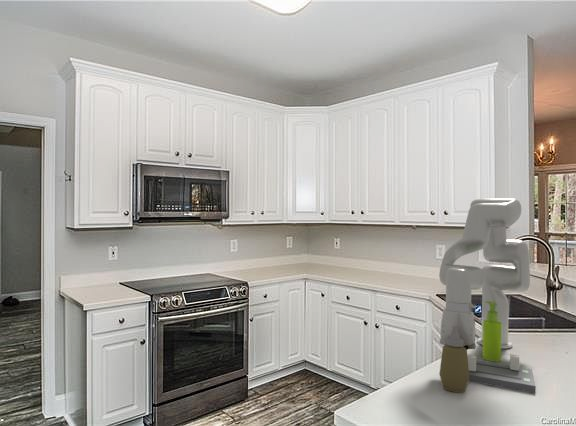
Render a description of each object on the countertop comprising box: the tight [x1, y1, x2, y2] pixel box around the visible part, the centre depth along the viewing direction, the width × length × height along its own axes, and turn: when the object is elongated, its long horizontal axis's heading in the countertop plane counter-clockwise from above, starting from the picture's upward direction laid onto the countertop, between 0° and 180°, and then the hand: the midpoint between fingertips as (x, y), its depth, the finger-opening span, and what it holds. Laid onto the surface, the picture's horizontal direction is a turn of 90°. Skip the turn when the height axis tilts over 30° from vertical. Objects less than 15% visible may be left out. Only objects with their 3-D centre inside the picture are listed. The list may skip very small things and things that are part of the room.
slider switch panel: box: [468, 359, 537, 394], centre depth 132 cm, size 16×22×2 cm
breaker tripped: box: [467, 354, 477, 372], centre depth 131 cm, size 3×2×4 cm
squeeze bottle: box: [439, 326, 470, 393], centre depth 122 cm, size 8×8×18 cm
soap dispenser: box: [482, 301, 502, 362], centre depth 151 cm, size 6×7×20 cm
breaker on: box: [509, 353, 520, 371], centre depth 133 cm, size 3×2×4 cm
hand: (457, 364), depth 133 cm, fingers closed
